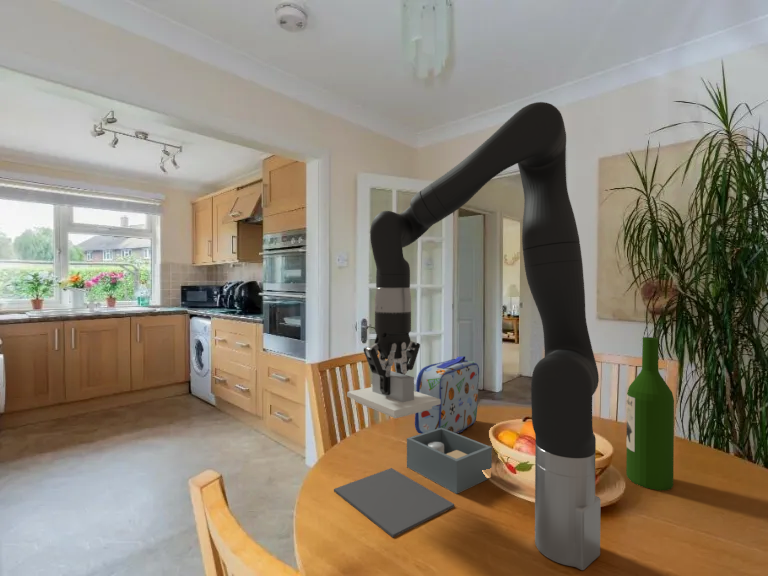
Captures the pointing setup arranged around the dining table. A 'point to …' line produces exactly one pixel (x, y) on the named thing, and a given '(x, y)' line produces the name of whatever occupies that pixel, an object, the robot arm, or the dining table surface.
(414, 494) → the mat
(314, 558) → the dining table surface
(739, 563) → the dining table surface
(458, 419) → the lunch box
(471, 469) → the storage box
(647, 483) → the wine bottle
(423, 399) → the lid
